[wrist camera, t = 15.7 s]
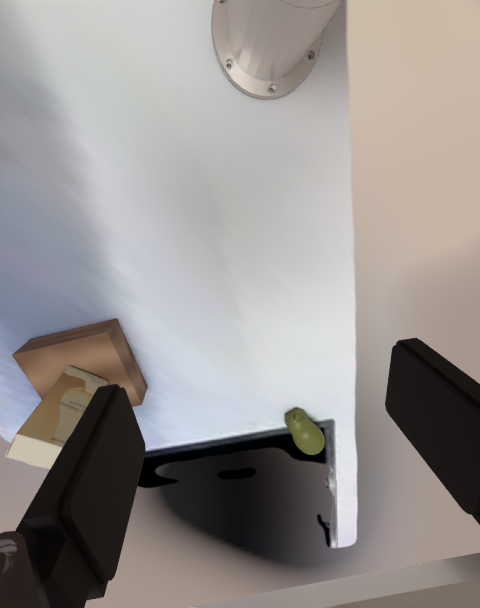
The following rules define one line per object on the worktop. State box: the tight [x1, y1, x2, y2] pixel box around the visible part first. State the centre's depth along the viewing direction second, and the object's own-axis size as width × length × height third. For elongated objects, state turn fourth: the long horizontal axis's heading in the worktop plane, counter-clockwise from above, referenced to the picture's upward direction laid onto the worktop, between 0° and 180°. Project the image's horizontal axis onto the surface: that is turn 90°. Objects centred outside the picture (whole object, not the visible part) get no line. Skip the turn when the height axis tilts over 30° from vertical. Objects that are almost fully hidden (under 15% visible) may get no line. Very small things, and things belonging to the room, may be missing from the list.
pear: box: [285, 408, 325, 455], centre depth 54 cm, size 6×5×10 cm
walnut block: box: [12, 318, 148, 407], centre depth 45 cm, size 14×14×5 cm
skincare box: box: [5, 366, 108, 469], centre depth 37 cm, size 6×4×12 cm
